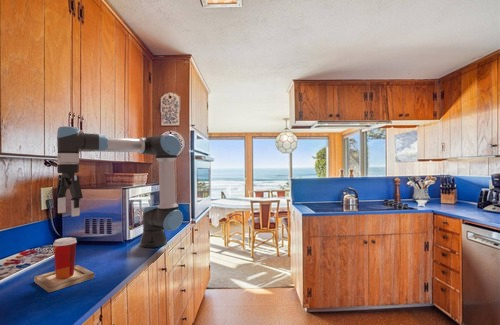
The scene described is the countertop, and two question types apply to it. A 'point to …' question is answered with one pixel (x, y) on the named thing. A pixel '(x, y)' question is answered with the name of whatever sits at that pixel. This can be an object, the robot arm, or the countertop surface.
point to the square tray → (52, 283)
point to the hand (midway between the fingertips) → (68, 214)
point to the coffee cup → (64, 257)
